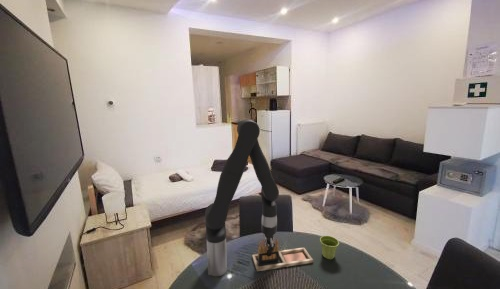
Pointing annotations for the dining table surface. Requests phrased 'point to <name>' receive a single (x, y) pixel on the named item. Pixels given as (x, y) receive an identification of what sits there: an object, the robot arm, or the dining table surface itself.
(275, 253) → the ammunition clip
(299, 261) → the wooden double frame
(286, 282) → the dining table surface
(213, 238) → the robot arm
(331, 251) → the plant pot
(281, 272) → the dining table surface
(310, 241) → the dining table surface
